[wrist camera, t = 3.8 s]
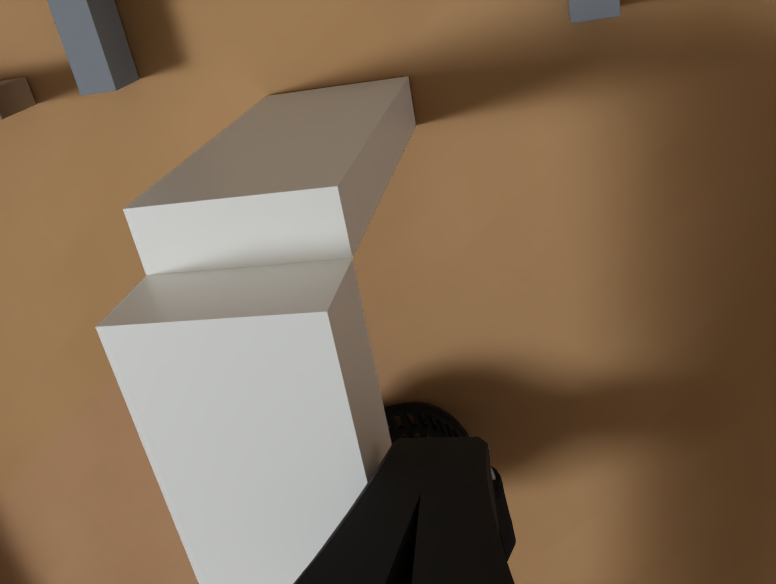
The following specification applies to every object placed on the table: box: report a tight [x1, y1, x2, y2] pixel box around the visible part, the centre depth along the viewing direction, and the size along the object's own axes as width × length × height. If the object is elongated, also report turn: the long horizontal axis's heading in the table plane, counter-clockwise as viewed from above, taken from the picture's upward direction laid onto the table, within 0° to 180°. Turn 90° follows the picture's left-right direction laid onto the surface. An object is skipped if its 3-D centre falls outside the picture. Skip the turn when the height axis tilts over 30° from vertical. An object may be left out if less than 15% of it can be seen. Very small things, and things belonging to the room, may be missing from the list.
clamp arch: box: [96, 76, 416, 584], centre depth 15 cm, size 3×16×8 cm, turn 10°
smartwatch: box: [384, 402, 516, 561], centre depth 17 cm, size 4×5×5 cm
